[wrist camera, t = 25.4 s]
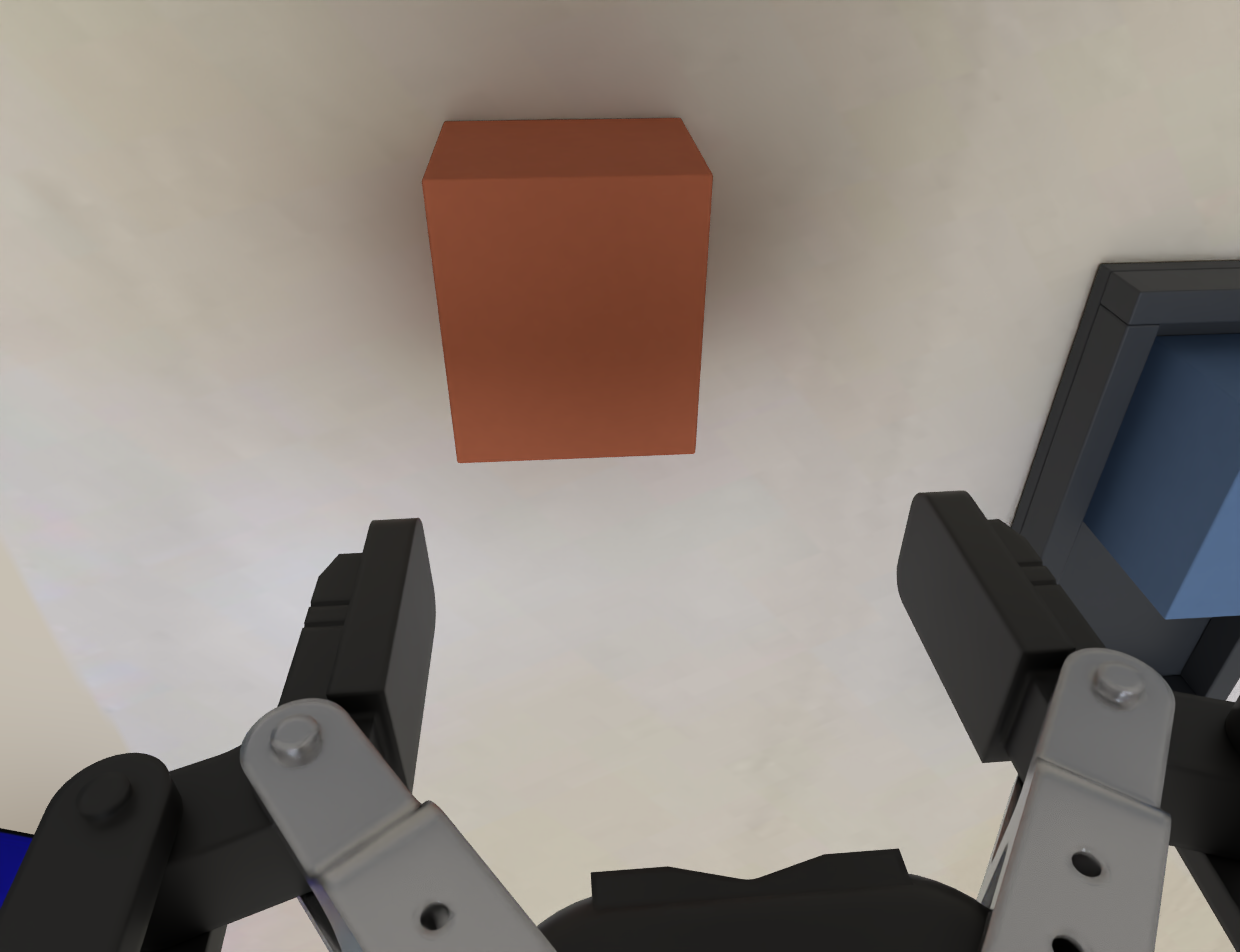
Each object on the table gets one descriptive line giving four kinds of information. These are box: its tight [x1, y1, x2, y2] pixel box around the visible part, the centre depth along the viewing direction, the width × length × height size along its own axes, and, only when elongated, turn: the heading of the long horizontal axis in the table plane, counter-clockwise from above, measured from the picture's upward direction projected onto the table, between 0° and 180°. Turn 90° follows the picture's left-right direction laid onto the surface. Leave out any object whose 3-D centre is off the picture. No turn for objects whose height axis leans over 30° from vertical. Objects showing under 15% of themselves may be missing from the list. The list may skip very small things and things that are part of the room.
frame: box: [1011, 261, 1240, 700], centre depth 30 cm, size 19×10×2 cm, turn 0°
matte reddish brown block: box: [422, 118, 713, 463], centre depth 22 cm, size 7×6×5 cm
